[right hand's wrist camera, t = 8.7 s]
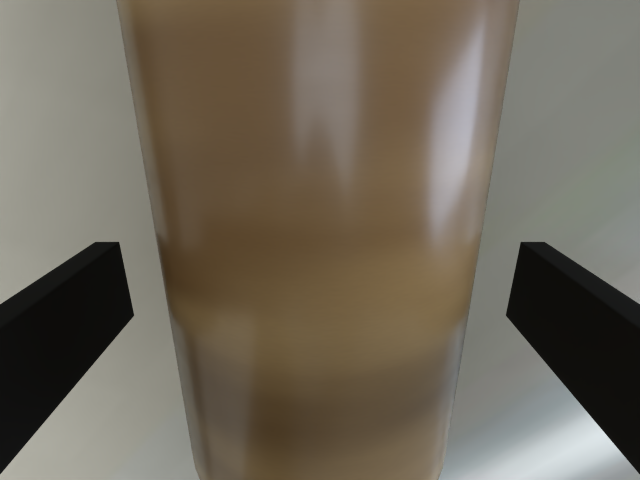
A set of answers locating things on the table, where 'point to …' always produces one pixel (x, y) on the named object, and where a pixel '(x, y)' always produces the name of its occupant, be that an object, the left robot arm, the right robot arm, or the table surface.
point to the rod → (318, 220)
